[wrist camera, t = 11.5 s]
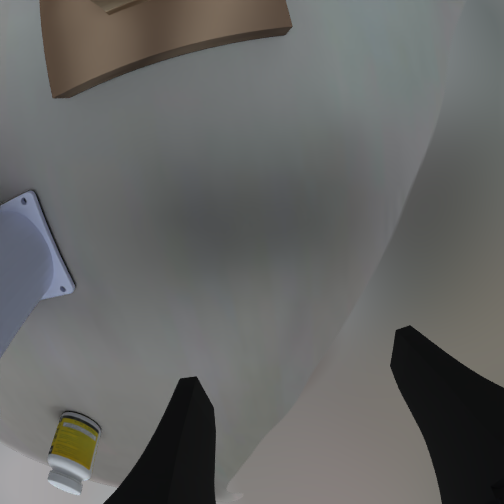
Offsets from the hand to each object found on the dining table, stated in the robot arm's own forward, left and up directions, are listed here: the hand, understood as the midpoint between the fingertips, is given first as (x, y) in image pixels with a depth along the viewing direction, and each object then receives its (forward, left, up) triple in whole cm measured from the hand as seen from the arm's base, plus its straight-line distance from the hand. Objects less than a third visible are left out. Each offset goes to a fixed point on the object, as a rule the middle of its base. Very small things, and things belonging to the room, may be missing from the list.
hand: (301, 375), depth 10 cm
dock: (-3, +19, -10) cm, 22 cm away
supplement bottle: (-26, -18, -11) cm, 33 cm away
